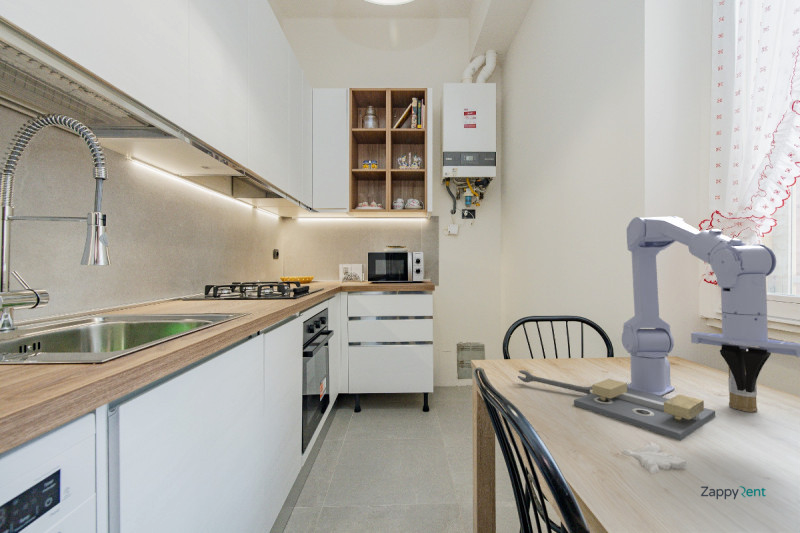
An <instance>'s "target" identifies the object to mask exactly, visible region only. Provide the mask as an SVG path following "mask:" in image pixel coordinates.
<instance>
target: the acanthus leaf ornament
mask: <svg viewBox="0 0 800 533" xmlns="http://www.w3.org/2000/svg"><path fill="white" fill-rule="evenodd" d="M621 453H622V454H623V455H627V456H631V457H633V458H636V459H637V460H639V462H640V463H641V466H642V467H645V468H646V469H647V470H648V471H649V474H651V475H655V474H658V473H659V472H660V468H661V469H663V470H667V471H668V470H670V468H672V469H674V470H675V469H676V470H677V469H678V470H679V469H680V470H681V469H683V470H684V468H685V467H686V464H687V461H686V460H685V459H684V458H682V457H679V456H675V455H673V456H672V454H671V453H670V452H661V448H660V445H659V444H657V443H655V442H648V444H645V445H644V447H642V448H640V449H638V450H637V449H636V450H630V449H628V448H624V449H623V450H621Z"/></svg>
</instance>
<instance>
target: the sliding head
mask: <svg viewBox="0 0 800 533" xmlns="http://www.w3.org/2000/svg"><path fill="white" fill-rule="evenodd" d="M668 399H669V400H667V401H665V402H664V413H668V414H671V415H675V421H677V422H681V417H682V418H685V419H689V420H690V419H691V418H693V417H694V416H696V415H697V414H699V413H701V412H702V411H704V408H705V400H703V399H701V398H700V399H699V398H697V397H691V396H687V395H683V394H677V395H676V396H674V397H671V398H668Z"/></svg>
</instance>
